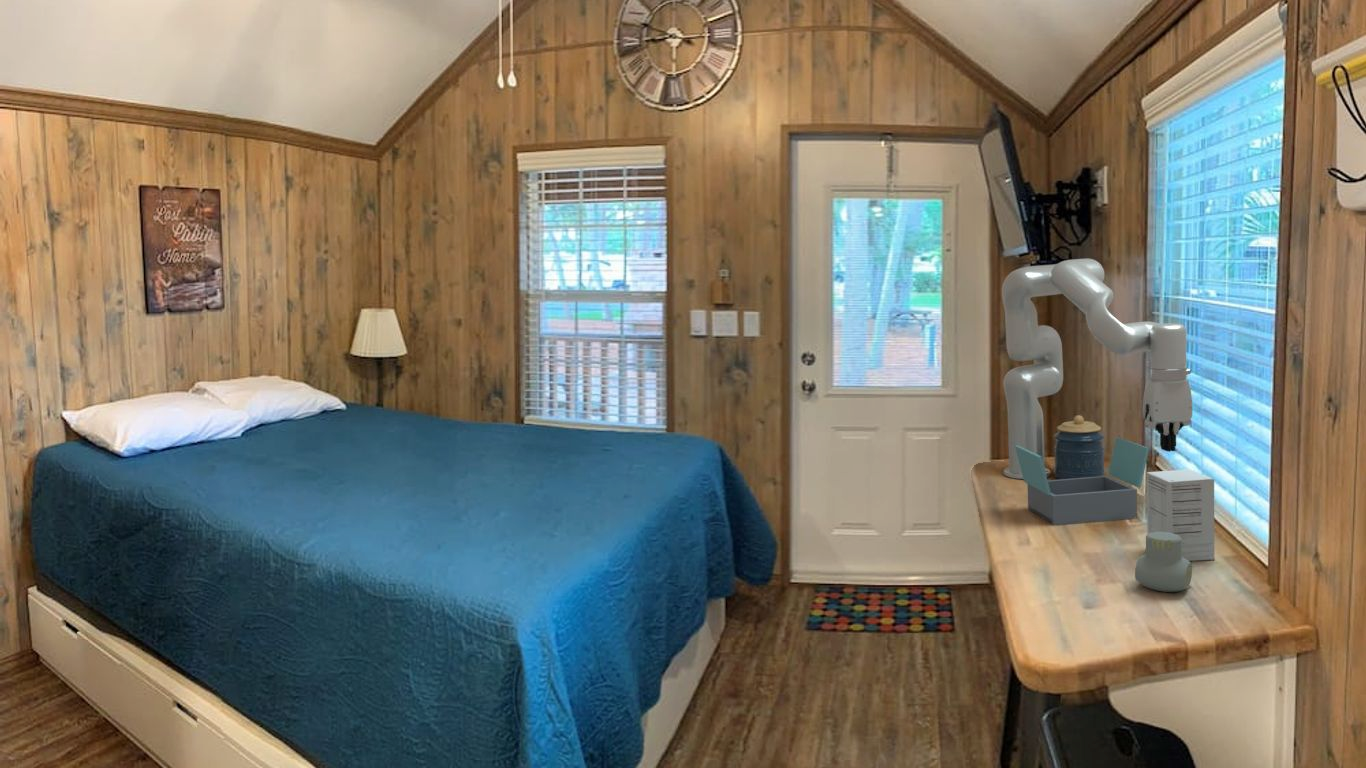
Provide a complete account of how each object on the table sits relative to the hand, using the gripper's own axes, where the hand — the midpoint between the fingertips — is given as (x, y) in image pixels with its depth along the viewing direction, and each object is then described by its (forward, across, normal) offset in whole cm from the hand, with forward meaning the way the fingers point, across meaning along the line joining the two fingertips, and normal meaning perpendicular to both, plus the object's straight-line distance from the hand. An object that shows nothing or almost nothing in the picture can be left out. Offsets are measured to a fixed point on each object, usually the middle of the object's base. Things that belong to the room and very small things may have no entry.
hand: (1168, 450), depth 212 cm
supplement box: (+14, +17, +32) cm, 39 cm away
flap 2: (+2, +10, 0) cm, 10 cm away
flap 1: (+2, +33, 0) cm, 33 cm away
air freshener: (+14, +30, +48) cm, 58 cm away
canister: (+14, +6, -33) cm, 36 cm away
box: (+14, +22, 0) cm, 26 cm away
